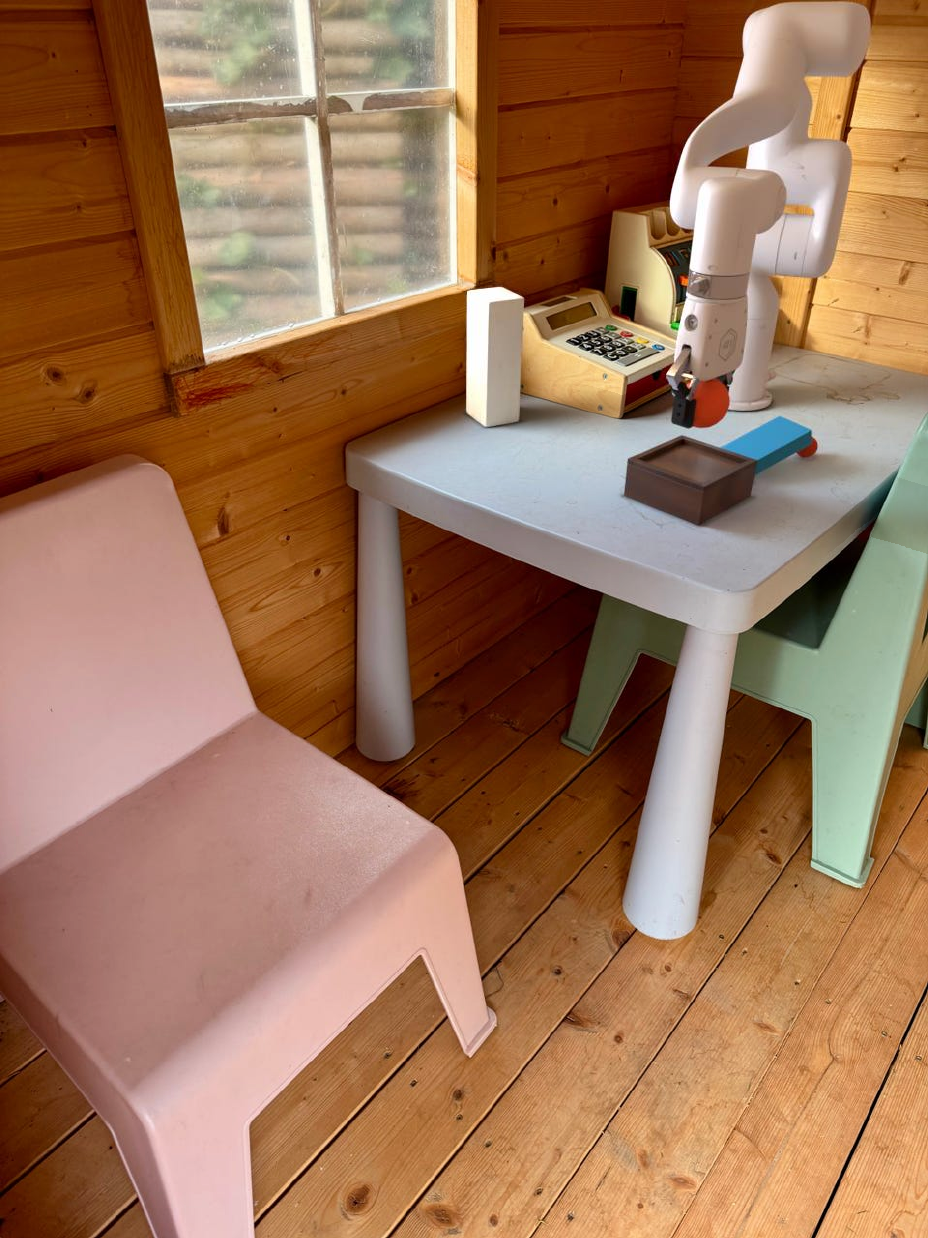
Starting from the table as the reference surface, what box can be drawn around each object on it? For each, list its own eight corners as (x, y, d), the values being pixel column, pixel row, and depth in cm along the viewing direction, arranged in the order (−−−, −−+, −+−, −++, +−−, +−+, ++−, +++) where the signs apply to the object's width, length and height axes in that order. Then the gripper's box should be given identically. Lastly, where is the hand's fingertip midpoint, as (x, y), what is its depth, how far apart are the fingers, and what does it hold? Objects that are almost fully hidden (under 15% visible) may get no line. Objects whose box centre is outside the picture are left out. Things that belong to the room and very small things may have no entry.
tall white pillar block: (524, 421, 157) (528, 296, 146) (486, 428, 155) (487, 301, 143) (502, 406, 163) (504, 285, 152) (465, 413, 161) (465, 290, 149)
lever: (739, 510, 138) (830, 458, 142) (736, 471, 134) (831, 419, 138) (710, 492, 143) (798, 443, 147) (706, 455, 139) (798, 405, 143)
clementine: (664, 432, 124) (671, 380, 120) (668, 414, 130) (675, 365, 126) (724, 437, 122) (733, 386, 118) (726, 420, 128) (734, 370, 124)
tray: (677, 470, 140) (681, 434, 137) (750, 497, 132) (757, 459, 129) (623, 495, 132) (627, 458, 129) (698, 525, 124) (704, 486, 121)
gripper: (702, 302, 109) (683, 442, 118) (780, 278, 119) (756, 410, 128) (651, 291, 113) (637, 427, 123) (730, 269, 123) (711, 396, 133)
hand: (698, 417), depth 126 cm, fingers closed on clementine, 7 cm apart
